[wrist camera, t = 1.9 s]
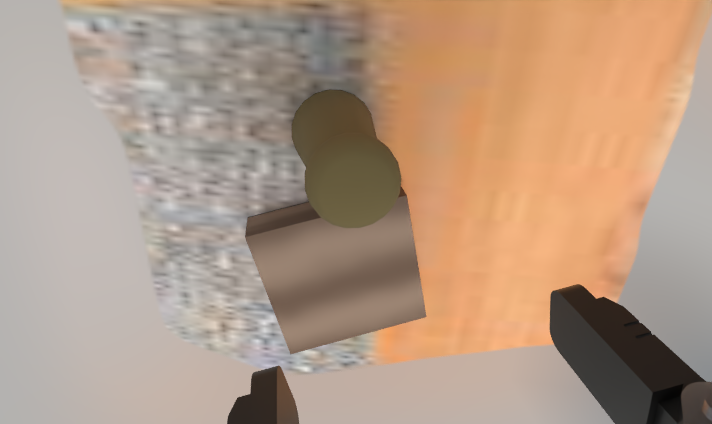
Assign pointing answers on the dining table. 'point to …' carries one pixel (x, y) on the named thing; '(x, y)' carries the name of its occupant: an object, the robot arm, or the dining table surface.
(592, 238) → the dining table surface
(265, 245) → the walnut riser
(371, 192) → the olive knob-ended peg
